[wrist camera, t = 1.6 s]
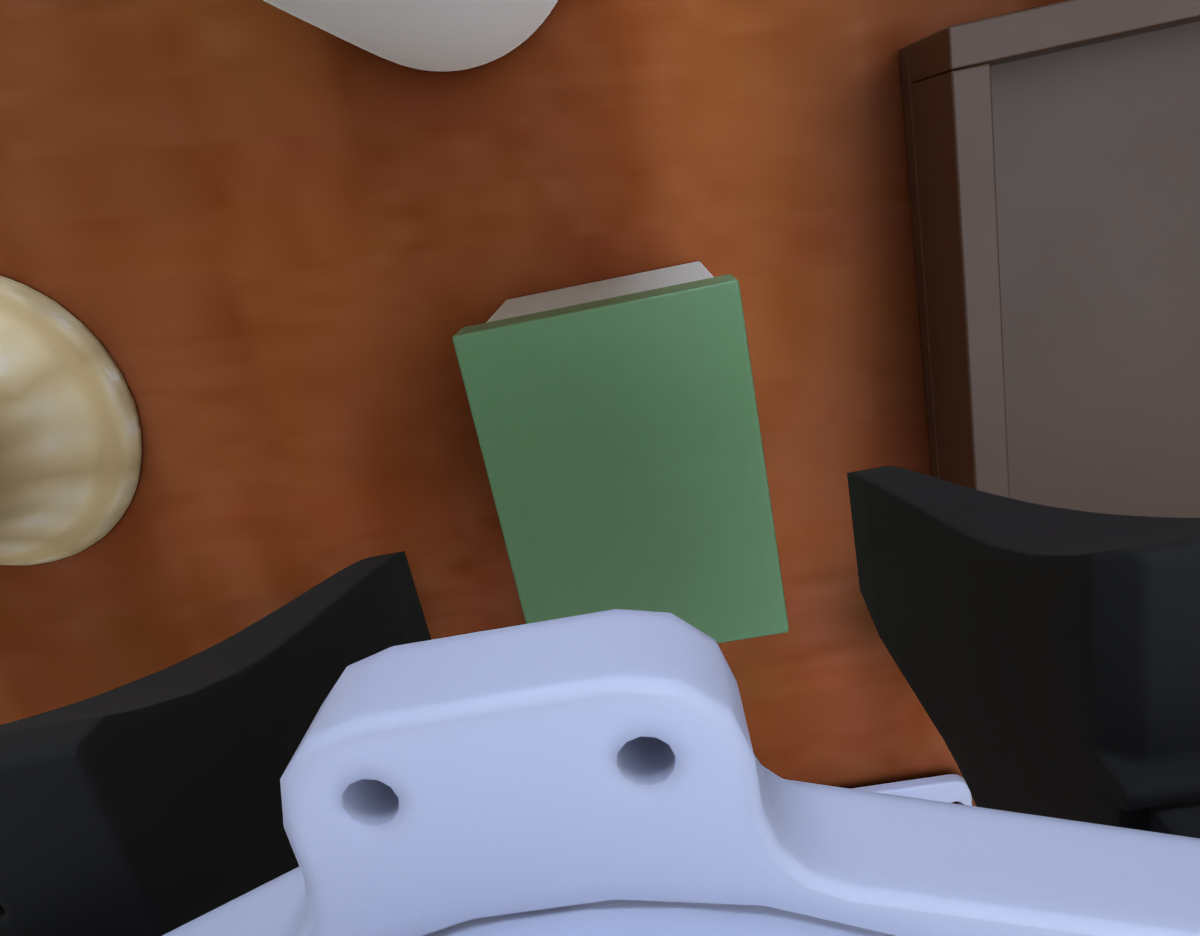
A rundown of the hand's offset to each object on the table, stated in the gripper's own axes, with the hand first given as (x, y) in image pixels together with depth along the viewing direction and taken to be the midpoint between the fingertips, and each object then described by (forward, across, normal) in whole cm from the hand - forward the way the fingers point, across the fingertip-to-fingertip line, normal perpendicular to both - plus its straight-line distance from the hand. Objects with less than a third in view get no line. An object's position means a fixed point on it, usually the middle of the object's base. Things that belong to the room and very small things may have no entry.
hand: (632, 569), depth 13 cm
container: (+9, 0, 0) cm, 9 cm away
